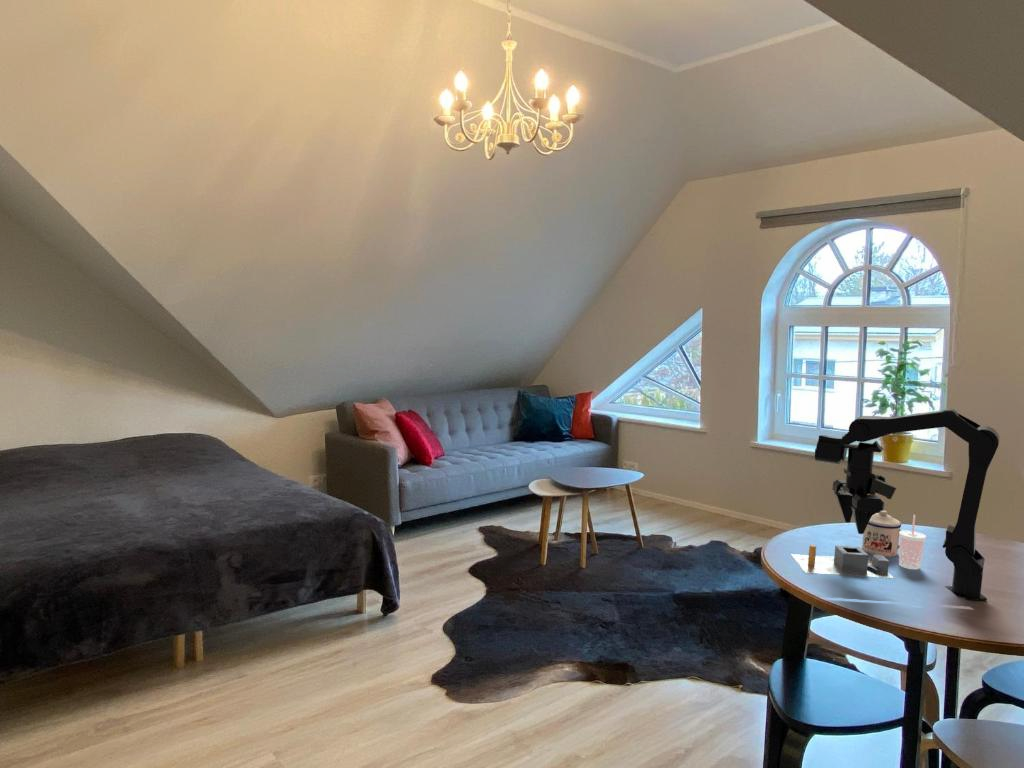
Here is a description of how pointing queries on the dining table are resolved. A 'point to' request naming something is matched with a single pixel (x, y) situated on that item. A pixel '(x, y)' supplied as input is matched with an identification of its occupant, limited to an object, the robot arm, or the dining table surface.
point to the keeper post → (812, 555)
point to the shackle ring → (851, 559)
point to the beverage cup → (911, 548)
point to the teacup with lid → (882, 535)
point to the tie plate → (827, 566)
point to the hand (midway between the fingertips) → (854, 527)
